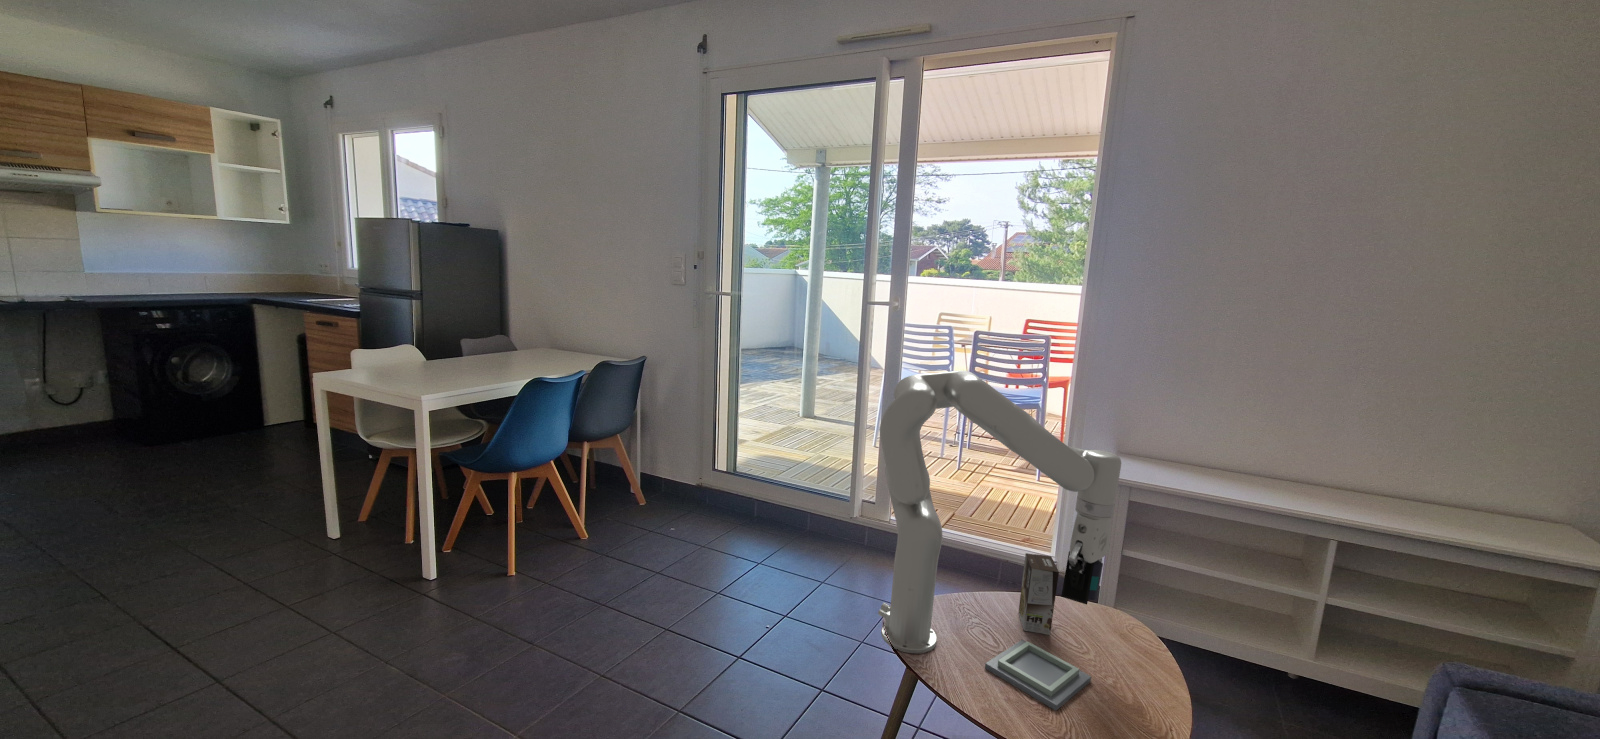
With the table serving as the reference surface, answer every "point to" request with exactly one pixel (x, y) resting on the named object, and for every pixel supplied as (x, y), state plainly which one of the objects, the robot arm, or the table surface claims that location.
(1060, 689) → the dock
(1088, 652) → the table surface
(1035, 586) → the coffee box
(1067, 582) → the speaker
